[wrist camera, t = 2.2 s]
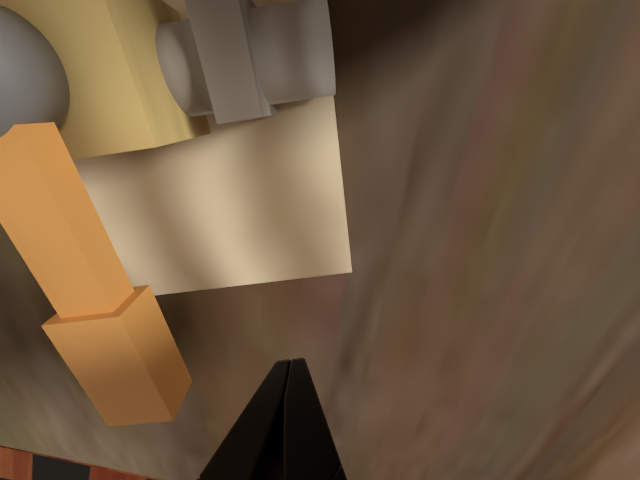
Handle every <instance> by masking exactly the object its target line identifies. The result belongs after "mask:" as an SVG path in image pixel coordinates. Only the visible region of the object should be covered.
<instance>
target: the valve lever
mask: <svg viewBox="0 0 640 480" xmlns="http://www.w3.org/2000/svg"><path fill="white" fill-rule="evenodd" d="M69 103H70V89H69V82H68V79H67V75H66V72H65V69H64V67H63V64H62V62H61V60H60V58H59V56H58V55H57V53H56V51H55V50H54V48H53V47H52V45H51V44H50V43H49V41H48V40H47V39H46V38H45V36H44V35H43V34H42V33H41V32H40V31H39V30H38V29H37V28H36V27H35V26H34V25H33V24H32V23H30V22H29V21H28V20H26V19H25V18H24V17H22V16H21V15H19V14H18V13H16V12H14V11H12V10H10V9H8V8H6V7H4V6H1V5H0V223H1V225H2V226H3V228H4V229H5V231H6V233H7V234H8V236H9V237H10V239H11V241H12V242H13V244H14V245H15V247H16V248H17V250H18V252H19V253H20V255H21V256H22V258H23V260H24V261H25V263H26V264H27V266H28V268H29V269H30V271H31V272H32V274H33V276H34V277H35V279H36V280H37V282H38V283H39V285H40V287H41V288H42V290H43V291H44V293H45V295H46V296H47V298H48V299H49V301H50V303H51V304H52V306H53V307H54V309H55V310H56V312H57V313H56V314H55V315H54V316H53V317H51V318H50V319H49V320H48V321H46V322H45V323H44V324H43V325H41V327H42V328H43V330H44V331H45V333H46V334H47V336H48V337H49V339H50V340H51V342H52V343H53V345H54V346H55V348H56V349H57V351H58V352H59V354H60V355H61V357H62V358H63V359H64V361H65V362H66V364H67V365H68V367H69V368H70V370H71V371H72V373H73V374H74V376H75V377H76V379H77V380H78V382H79V383H80V385H81V386H82V388H83V389H84V391H85V392H86V394H87V395H88V397H89V398H90V400H91V401H92V403H93V404H94V406H95V407H96V409H97V410H98V412H99V413H100V415H101V416H102V417H103V419H104V420H105V422H106V423H107V425H108V426H109V427H112V426H123V425H133V424H144V423H155V422H165V421H174V419H175V417H176V414H177V412H178V410H179V408H180V406H181V404H182V401H183V399H184V397H185V395H186V393H187V391H188V388H189V386H190V384H191V382H192V379H191V377H190V375H189V373H188V370H187V368H186V366H185V364H184V361H183V359H182V357H181V355H180V352H179V350H178V348H177V346H176V343H175V341H174V339H173V337H172V334H171V332H170V330H169V328H168V325H167V323H166V321H165V319H164V316H163V314H162V312H161V310H160V307H159V305H158V303H157V301H156V298H155V296H154V294H153V292H152V289H151V287H150V285H144V286H136V287H132V285H131V283H130V280H129V278H128V276H127V274H126V272H125V270H124V268H123V266H122V264H121V262H120V259H119V257H118V255H117V253H116V251H115V249H114V247H113V245H112V243H111V240H110V238H109V236H108V234H107V232H106V230H105V228H104V226H103V224H102V222H101V219H100V217H99V215H98V213H97V211H96V209H95V207H94V205H93V203H92V200H91V198H90V196H89V194H88V192H87V190H86V188H85V186H84V184H83V182H82V179H81V177H80V175H79V173H78V171H77V169H76V167H75V165H74V163H73V160H72V158H71V156H70V154H69V152H68V150H67V148H66V146H65V144H64V142H63V139H62V137H61V135H60V133H59V131H58V129H57V128H58V127H59V126H60V125H61V123H62V122H63V121H64V119H65V117H66V115H67V112H68V109H69Z"/></svg>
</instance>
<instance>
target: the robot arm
mask: <svg viewBox="0 0 640 480" xmlns="http://www.w3.org/2000/svg"><path fill="white" fill-rule="evenodd" d="M197 480H347V478H346V475H345V472H344V470H343V468H342V464H341V461H340V459H339V456H338V453H337V450H336V447H335V444H334V441H333V438H332V436H331V433H330V430H329V427H328V424H327V421H326V418H325V415H324V413H323V410H322V407H321V404H320V401H319V398H318V395H317V392H316V390H315V387H314V384H313V381H312V378H311V375H310V372H309V369H308V367H307V364H306V361H305V359H304V358H298V359H292V360H279V361H277V362H276V363H275V364H274V366H273V367H272V369H271V370H270V372H269V373H268V375H267V376H266V378H265V379H264V381H263V382H262V384H261V385H260V387H259V388H258V390H257V391H256V393H255V394H254V395H253V397H252V398H251V400H250V401H249V403H248V404H247V406H246V407H245V409H244V410H243V412H242V413H241V415H240V416H239V418H238V419H237V421H236V422H235V424H234V425H233V427H232V428H231V430H230V431H229V433H228V434H227V436H226V437H225V439H224V440H223V442H222V443H221V445H220V446H219V448H218V449H217V451H216V452H215V454H214V455H213V457H212V458H211V460H210V461H209V462H208V464H207V465H206V467H205V468H204V470H203V471H202V473H201V474H200V478H198V479H197Z"/></svg>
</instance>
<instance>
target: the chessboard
mask: <svg viewBox="0 0 640 480" xmlns="http://www.w3.org/2000/svg"><path fill="white" fill-rule="evenodd" d="M0 480H161V479H156V478H152V477H147V476H142V475H137V474H133V473H128V472H123V471H118V470H114V469H109V468H104V467H99V466H95V465H90V464H85V463H80V462H76V461H71V460H66V459H61V458H57V457H52V456H47V455H42V454H38V453H33V452H28V451H23V450H19V449H14V448H9V447H4V446H0Z"/></svg>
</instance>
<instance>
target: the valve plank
mask: <svg viewBox="0 0 640 480" xmlns="http://www.w3.org/2000/svg"><path fill="white" fill-rule="evenodd" d="M0 5H1V6H4V7H6V8H8V9H10V10H12V11H14V12H16V13H18V14H19V15H21V16H22V17H24V18H25V19H26V20H28V21H29V22H30V23H32V24H33V25H34V26H35V27H36V28H37V29H38V30H39V31H40V32H41V33H42V34H43V35H44V36H45V38H46V39H47V40H48V41H49V43H50V44H51V45H52V47H53V48H54V50H55V51H56V53H57V55H58V56H59V58H60V60H61V62H62V64H63V67H64V69H65V72H66V75H67V79H68V82H69V89H70V103H69V109H68V112H67V115H66V117H65V119H64V121H63V122H62V123H61V125H60V126H59V127H58V128H57V129H58V131H59V133H60V135H61V137H62V139H63V142H64V144H65V146H66V148H67V150H68V152H69V154H70V156H71V158H72V160H73V163H74V165H75V167H76V169H77V171H78V173H79V175H80V177H81V179H82V182H83V184H84V186H85V188H86V190H87V192H88V194H89V196H90V198H91V200H92V203H93V205H94V207H95V209H96V211H97V213H98V215H99V217H100V219H101V222H102V224H103V226H104V228H105V230H106V232H107V234H108V236H109V238H110V240H111V243H112V245H113V247H114V249H115V251H116V253H117V255H118V257H119V259H120V262H121V264H122V266H123V268H124V270H125V272H126V274H127V276H128V278H129V280H130V283H131V285H132V287H136V286H144V285H150V287H151V289H152V292H153V294H154V295H163V294H171V293H180V292H188V291H197V290H205V289H214V288H222V287H231V286H239V285H248V284H256V283H265V282H273V281H282V280H290V279H299V278H307V277H316V276H324V275H333V274H341V273H350V272H352V267H351V258H350V248H349V239H348V229H347V220H346V210H345V201H344V191H343V181H342V172H341V162H340V153H339V143H338V134H337V124H336V115H335V105H334V96H333V95H336V82H335V66H334V54H333V43H332V33H331V24H330V16H329V9H328V2H327V0H0Z"/></svg>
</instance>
